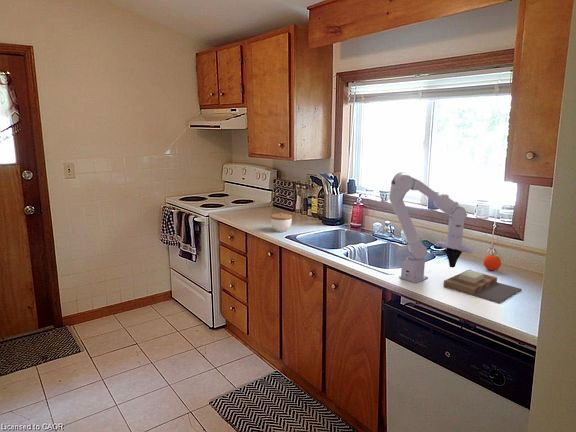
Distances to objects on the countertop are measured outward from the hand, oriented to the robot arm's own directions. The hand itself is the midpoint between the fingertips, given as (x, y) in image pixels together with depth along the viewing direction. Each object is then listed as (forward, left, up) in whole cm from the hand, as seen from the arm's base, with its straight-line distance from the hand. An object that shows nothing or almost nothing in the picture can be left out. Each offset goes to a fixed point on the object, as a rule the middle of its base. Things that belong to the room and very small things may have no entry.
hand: (452, 266), depth 175 cm
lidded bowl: (-1, +108, -6) cm, 108 cm away
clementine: (+24, -6, -6) cm, 26 cm away
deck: (-1, -8, -5) cm, 10 cm away
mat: (-1, -19, -5) cm, 20 cm away
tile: (0, -8, -3) cm, 9 cm away
